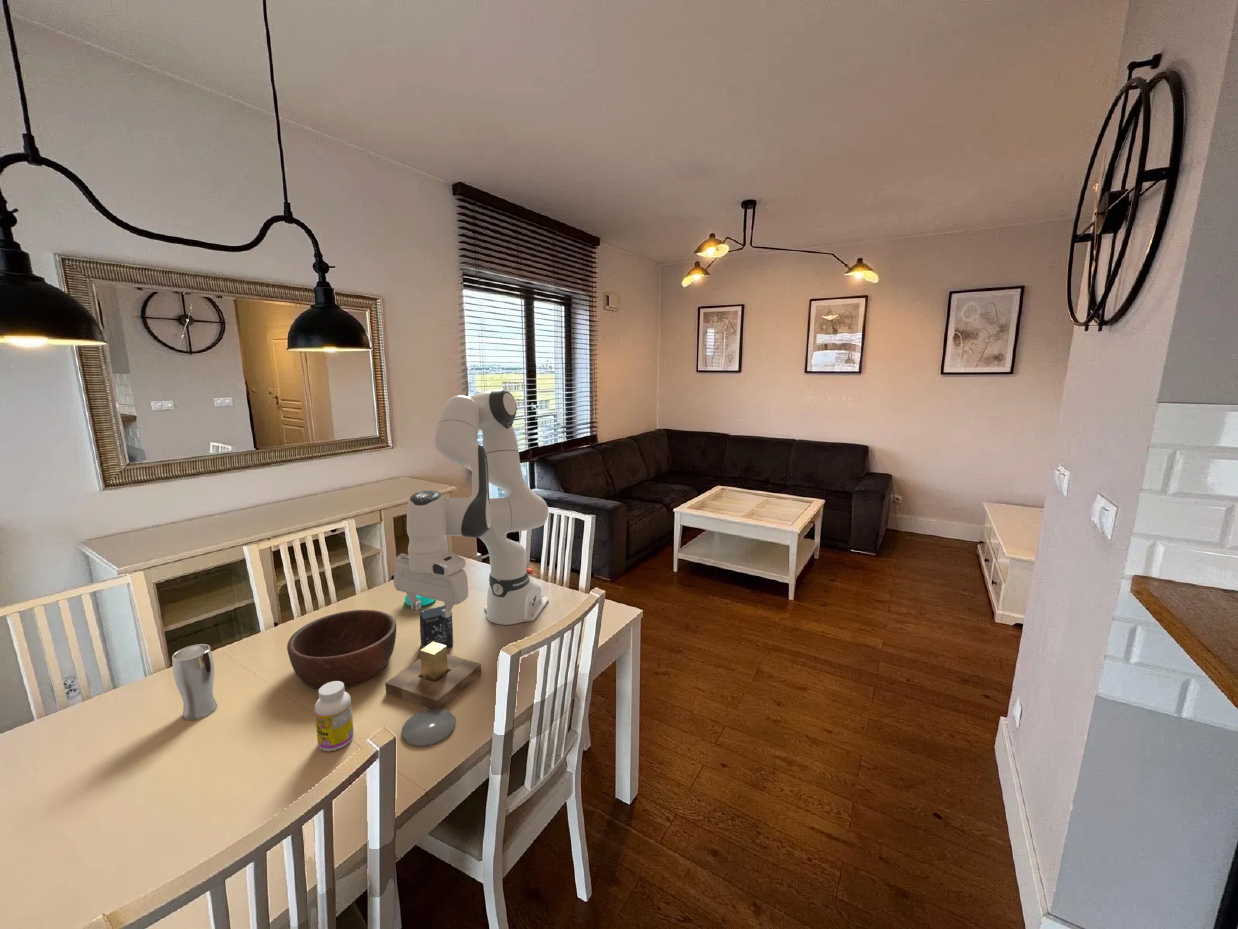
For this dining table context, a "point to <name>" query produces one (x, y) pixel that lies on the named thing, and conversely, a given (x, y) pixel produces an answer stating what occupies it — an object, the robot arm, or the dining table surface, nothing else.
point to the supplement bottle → (333, 717)
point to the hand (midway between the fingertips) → (431, 612)
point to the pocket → (433, 683)
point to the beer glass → (195, 680)
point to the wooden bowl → (342, 647)
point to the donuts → (423, 600)
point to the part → (434, 661)
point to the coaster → (428, 727)
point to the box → (435, 627)
